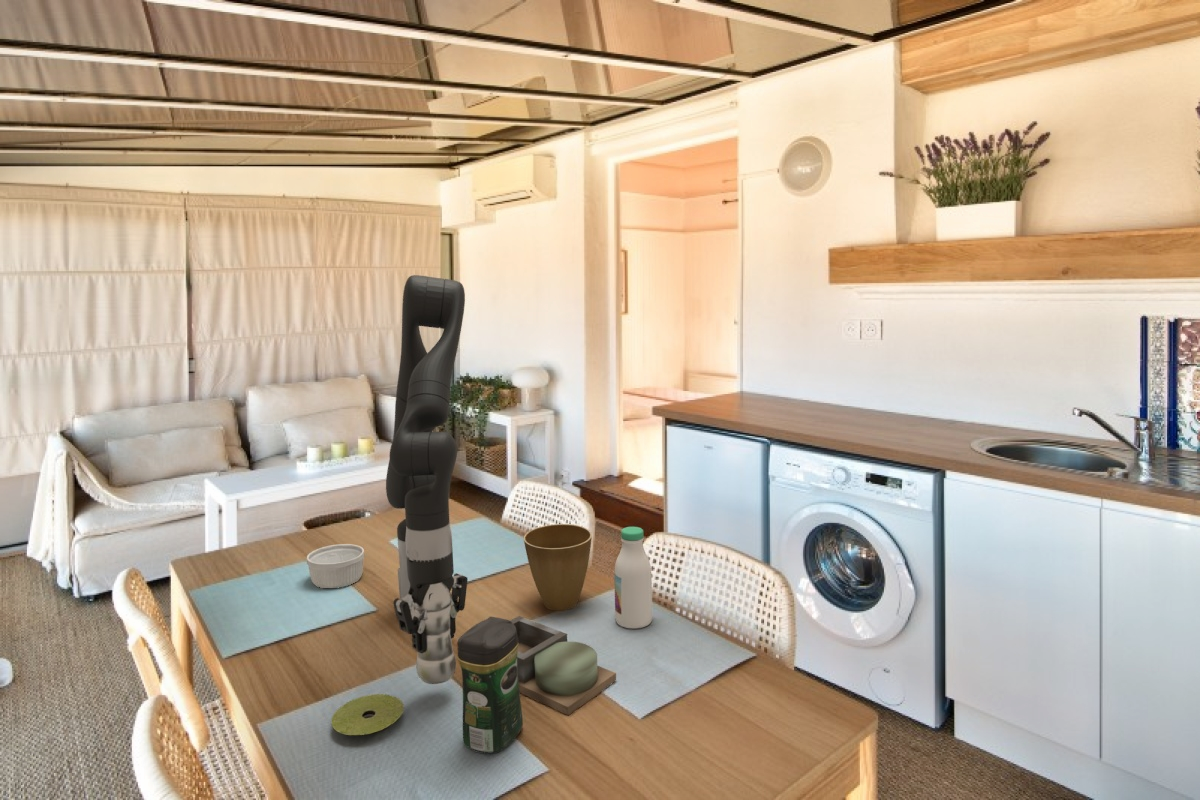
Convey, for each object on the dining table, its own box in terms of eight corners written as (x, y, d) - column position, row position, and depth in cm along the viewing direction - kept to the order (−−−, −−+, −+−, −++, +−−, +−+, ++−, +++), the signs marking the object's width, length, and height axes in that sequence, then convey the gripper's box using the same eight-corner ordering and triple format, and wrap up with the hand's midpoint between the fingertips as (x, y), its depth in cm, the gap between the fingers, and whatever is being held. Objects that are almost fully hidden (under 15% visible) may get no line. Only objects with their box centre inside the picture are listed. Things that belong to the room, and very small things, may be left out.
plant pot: (530, 590, 167) (528, 524, 165) (594, 589, 167) (593, 523, 164) (522, 619, 152) (519, 547, 150) (592, 619, 152) (590, 547, 149)
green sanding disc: (355, 755, 109) (354, 743, 109) (319, 726, 117) (318, 715, 116) (418, 721, 117) (417, 710, 117) (380, 696, 125) (379, 686, 125)
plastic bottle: (447, 691, 120) (441, 578, 116) (410, 687, 121) (402, 575, 118) (462, 670, 126) (457, 562, 122) (426, 667, 127) (420, 560, 124)
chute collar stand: (470, 669, 133) (468, 639, 132) (520, 641, 143) (519, 613, 142) (568, 715, 118) (567, 681, 117) (616, 680, 128) (615, 649, 127)
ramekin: (377, 576, 177) (375, 549, 176) (332, 596, 166) (330, 567, 165) (342, 566, 184) (340, 540, 183) (297, 584, 173) (294, 557, 172)
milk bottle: (657, 616, 153) (656, 526, 149) (644, 632, 146) (642, 538, 142) (623, 610, 156) (622, 521, 153) (609, 625, 149) (607, 533, 146)
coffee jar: (488, 714, 119) (483, 608, 116) (530, 725, 116) (525, 617, 113) (453, 748, 110) (446, 635, 107) (497, 762, 107) (491, 645, 104)
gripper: (449, 532, 127) (453, 622, 130) (378, 557, 116) (385, 654, 119) (477, 542, 123) (481, 634, 125) (407, 569, 112) (413, 669, 115)
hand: (434, 643), depth 122 cm, fingers closed on plastic bottle, 5 cm apart
